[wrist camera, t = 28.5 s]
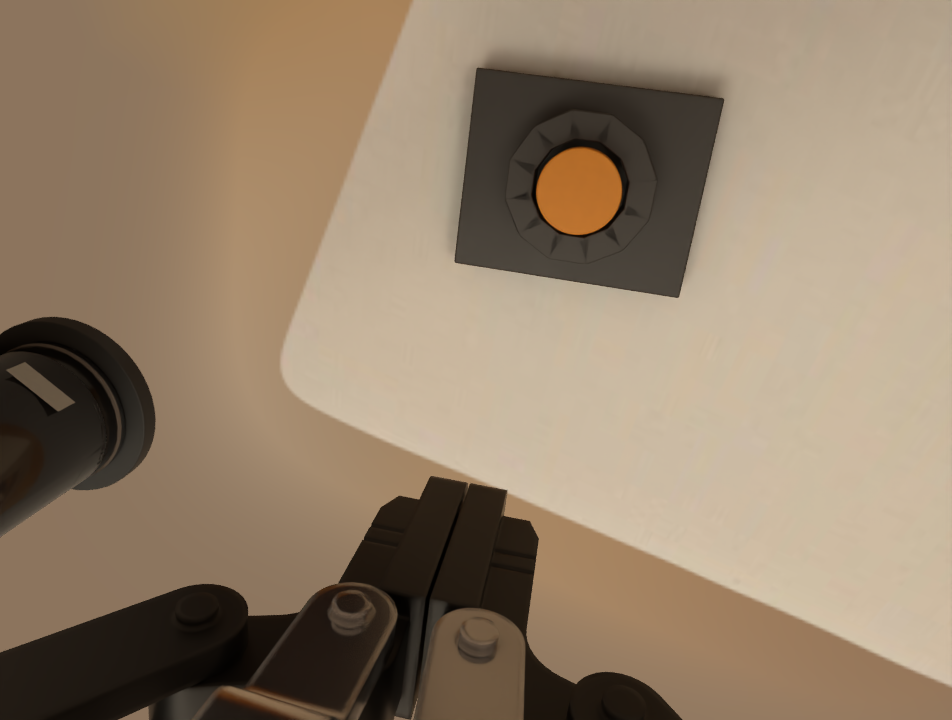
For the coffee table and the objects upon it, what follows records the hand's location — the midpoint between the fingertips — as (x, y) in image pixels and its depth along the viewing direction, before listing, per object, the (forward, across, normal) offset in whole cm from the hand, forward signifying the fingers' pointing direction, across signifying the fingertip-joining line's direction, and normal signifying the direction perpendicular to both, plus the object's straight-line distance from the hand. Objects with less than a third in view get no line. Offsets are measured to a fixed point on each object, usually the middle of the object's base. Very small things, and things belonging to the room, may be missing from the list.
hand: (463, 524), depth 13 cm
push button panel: (+24, -1, -5) cm, 24 cm away
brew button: (+21, -1, -5) cm, 21 cm away
